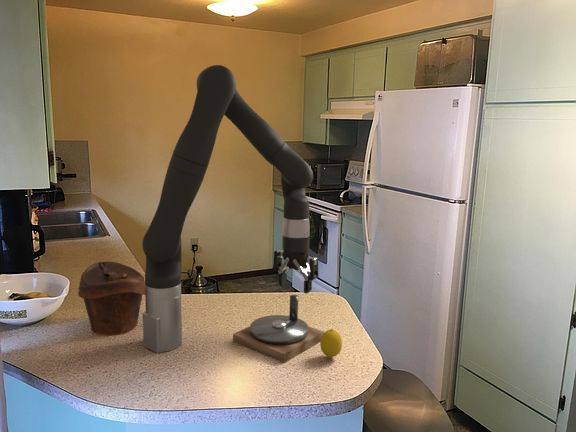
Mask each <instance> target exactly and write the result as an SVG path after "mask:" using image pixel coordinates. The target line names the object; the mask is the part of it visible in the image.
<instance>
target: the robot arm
mask: <svg viewBox="0 0 576 432" xmlns="http://www.w3.org/2000/svg"><path fill="white" fill-rule="evenodd" d="M195 86H196V90H197V91H196V95H195V99H194V104H193V106H192V111H191V114H190V117H189V119H188V121H187V123H186V125H185V127H184V129H183V130H182V132H181V134H180V136H179V138H178V140H177V142H176V145H175V146H174V149H173V151H172V154H171V157H170V160H169V163H168V166H167V170H166V173H165V177H164V180H163V185H162V188H161V192H160V193H161V194H160V198H159V202H158V205H157V209H156V211H155V213H154V216H153V218H152V220H151V222H150V225H149V227H148V228H147V230H146V232H145V234H144V236H143V238H142V243H141V244H142V250H143V253H144V255H145V271H144V272H145V273H144V281H145V295H144V296H145V311H144V312H143V313H142V337H143V341H142V342H143V344H142V345H143V347H144V348H147V349H148V350H150V351H152V352H155V353H157V354H159V353H162V352H170V351H173V350H174V351H175V350H176V349H178V348H180V346H182V343H183V336H182V335H183V332H182V331H183V330H182V329H183V328H182V325H183V324H182V317H183V316H182V267H183V266H182V233H183V230H184V229H183V228H184V225H185V221H186V218H187V215H188V213H189V211H190V208H191V207H192V205H193V203H194V201H195V199H196V197H197V194H198V192H199V190H200V188H201V186H202V183H203V181H204V178H205V176H206V173H207V169H208V167H209V164H210V161H211V157H212V155H213V151H214V147H215V143H216V140H217V135H218V132H219V128H220V125H221V123H222V121H223V118H224V116H225V117H226V118H227V119H228V120H229V121H230V122H231V123H232V124H233V125H234V126H235V127H236V129H238V130H239V132H240V133H241V134H242V135H243V136H244V137H245V138H246V140H247V141H248V142H249V143H250V144H251V145H252V146H253V148H254V149H255V150H256V151H257V152H258V153H259V154H260V155H261V157H263V158H264V160H265V161H267V162H268V164H270V165H271V166H273V167H275V168H276V170H278V171H279V173H280V175H281V176H280V181H281V184H280V185H281V190H282V195H283V221H282V244H281V245H282V246H281V248H280V249H277V250H275V251H273V261H272V262H273V266H272V270H273V271H275V272H277V274H278V284H279V287H281V288H284V287H286V286H287V279H288V278H287V275H288V274H287V271H288V270H289V269H290V270H295V271H298V273H300V275H302V277H303V279H304V281H303V293H304V294H309V293H310V292H312V290H313V288H312V287H313V281H314V280H316V279H318V278H319V277H320V276H319V258H318V257H317V256H314V257H312V256H311V257H310V256H309V254H308V253H309V250H310V229H311V228H310V227H311V226H310V200H309V198H308V196H307V195H306V188H308V187H309V186H310V185H311V184H312V182H313V180H314V172H313V170H312V168H311V166H310V165H309V163H307V162H306V161H305V159H303V158H302V157H301V156H300V155H299V154H298V153H297V152H295V151H294V150H293V149H292V148H291V147H290V146H289V144H287V142H286V141H285V140H284V139H283V138H282V136H281V135H280V134H279V133H278V132H277V131H276V130H275V128H273V127H272V126H271V125H270V124H269V123H268V122H267V121H266V120H265V119H264V118H263V117H262V116H261V115H259V114H258V112H256V111H255V110H254V109H253V108H252V107H251V106H250V105H249V104H248V103H247V102H246V101H245V99H244V98H243V96H241V94H240V93H239V91H238V89H237V81H236V77H235V75H234V73H233V72H232V71H231V70H230V69H229V68H228V67H226V66H224V65H222V64H214V65H209V66H207V67H206V68H204V69H202V71H200V73H199V75H197V78H196V85H195ZM283 260H284V261H283Z"/></svg>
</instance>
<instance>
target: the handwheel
mask: <svg viewBox="0 0 576 432" xmlns="http://www.w3.org/2000/svg"><path fill="white" fill-rule="evenodd" d="M288 313H289V315H283V314H282V315H281V314H272V315H265V316H261V317H259V318H256V319H254V320H253V321H252V322H251V323H250V325H249V326H250V333H251V335H252V337H254V338H255V339H257V340H259V341H261V342H264V343H269V344H291V343H296V342H299V341H301V340H303V339H305V338H306V337H307V335H308V326H309V325H308V324H307V323H306V321H305V320H302V319H300V318H299V295H298V294H291V295H289V312H288Z"/></svg>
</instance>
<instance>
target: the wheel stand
mask: <svg viewBox="0 0 576 432" xmlns="http://www.w3.org/2000/svg"><path fill="white" fill-rule="evenodd" d="M324 332H325V331H324V330H321V329H318V328H315V327H311V326H309V325H308V335H307V337H306V338H305V339H303V340H301V341H299V342H296V343H291V344H269V343H264V342H261V341H259V340H257V339H255V338H254V337H252V335H251V333H250V325H249V326H247V327H245V328H243V329H241V330H238V331H236V332H234V333H233V334H232V343H234V344H236V345H238V346H241V347H242V348H246V349H248V350H251V351H253V352H255V353H258V354H261V355H262V356H266V357H268V358H270V359H273V360H275V361H278V362H281V363H283V364H285V363H287V362H289V361H290V360H292V359H294V358H295V357H297V356H298V355H300V354H302V353H304V352H306V351H308V350H309V349H310V348H313V347H314V346H316V345H317V344H319V343H320V342H321V338H322V335H323V333H324Z"/></svg>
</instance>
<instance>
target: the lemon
mask: <svg viewBox="0 0 576 432" xmlns="http://www.w3.org/2000/svg"><path fill="white" fill-rule="evenodd" d="M319 343H320V349H321V352H322V354H323V355H325V356H326V357H328V358H329V359H332V358H334V357H336V356H338V355H339V354H340V352H341V350H342V347H343V339H342V336H341V334H340V332H339V331H337V330H336V329H334V328H330V329H327V330H326V331H324V333H323V335H322V338H321V342H319Z"/></svg>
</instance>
